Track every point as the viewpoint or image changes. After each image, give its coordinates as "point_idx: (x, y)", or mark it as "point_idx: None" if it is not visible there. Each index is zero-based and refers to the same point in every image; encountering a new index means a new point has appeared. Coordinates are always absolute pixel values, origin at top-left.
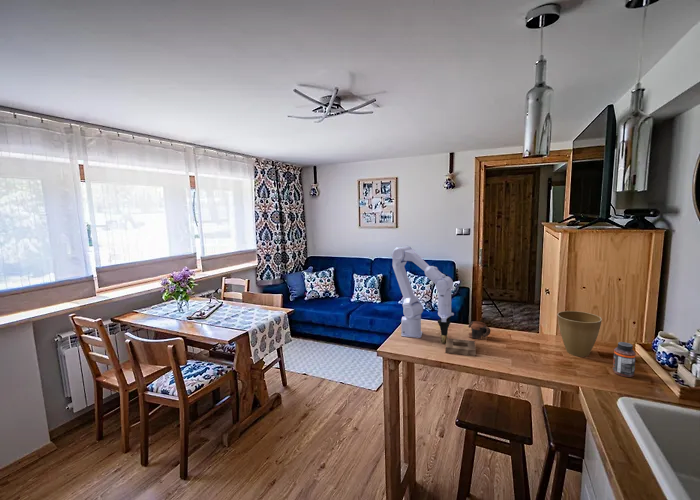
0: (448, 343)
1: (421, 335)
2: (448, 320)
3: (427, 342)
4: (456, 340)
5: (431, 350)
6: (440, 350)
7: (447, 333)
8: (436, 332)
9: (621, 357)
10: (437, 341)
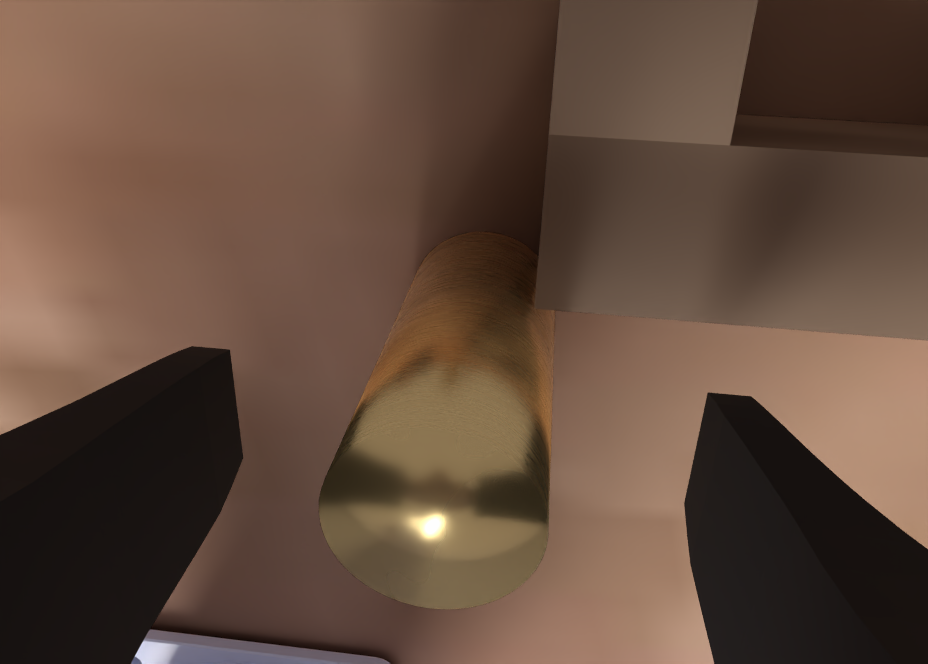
0: (895, 279)
1: (283, 647)
2: (17, 521)
3: (546, 571)
4: (650, 48)
5: (921, 529)
6: (925, 384)
7: (489, 345)
8: (5, 417)
9: None
10: None
